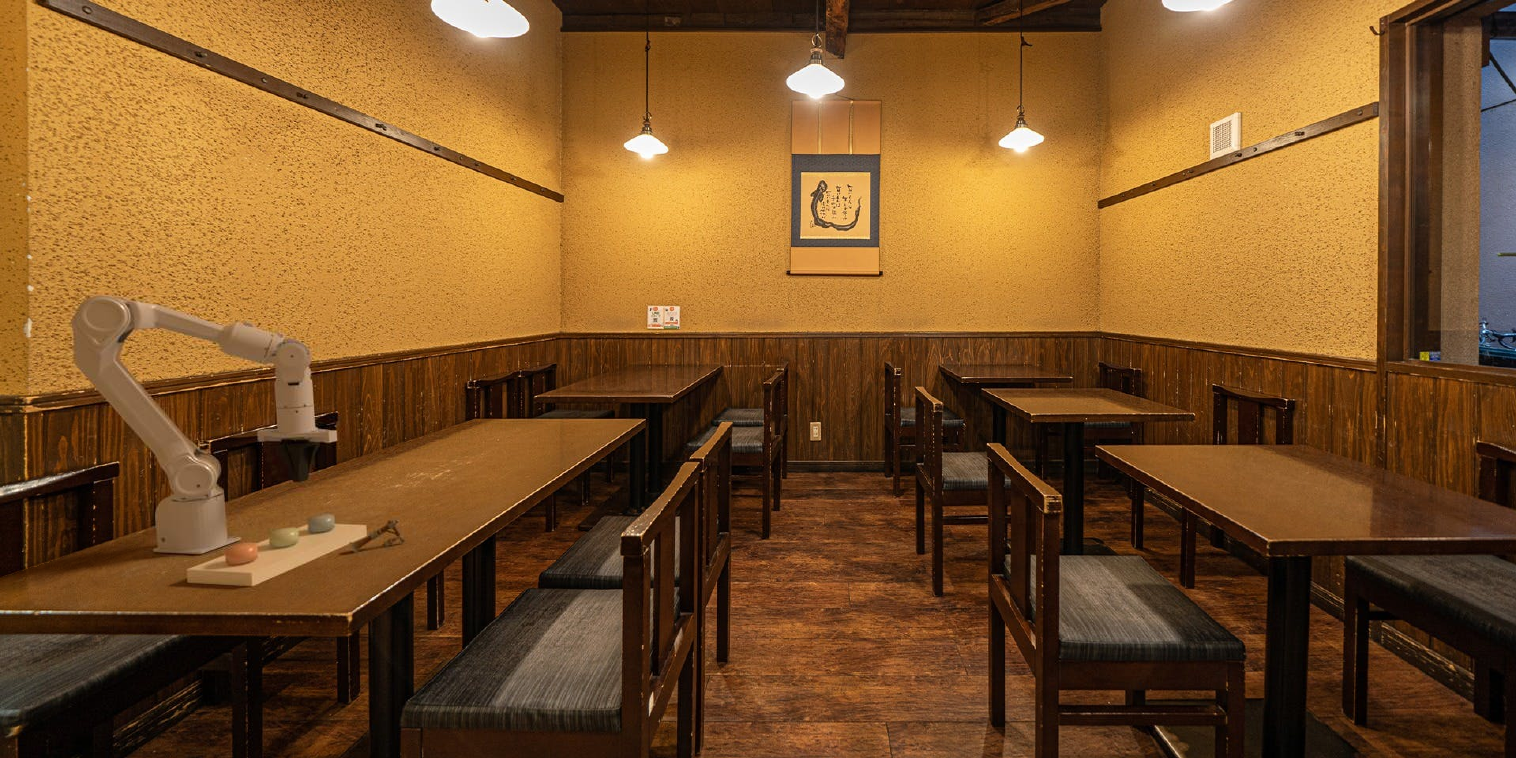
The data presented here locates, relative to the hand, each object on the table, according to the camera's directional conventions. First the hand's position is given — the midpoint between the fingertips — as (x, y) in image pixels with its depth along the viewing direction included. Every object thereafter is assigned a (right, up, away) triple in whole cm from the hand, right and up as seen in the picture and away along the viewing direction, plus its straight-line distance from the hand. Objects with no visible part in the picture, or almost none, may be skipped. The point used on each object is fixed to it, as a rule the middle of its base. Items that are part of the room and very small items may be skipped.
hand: (300, 480), depth 132 cm
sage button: (+6, -9, -13) cm, 17 cm away
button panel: (+6, -11, -13) cm, 18 cm away
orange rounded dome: (+5, -10, -21) cm, 24 cm away
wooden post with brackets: (+18, -10, -9) cm, 23 cm away
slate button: (+7, -9, -6) cm, 12 cm away
